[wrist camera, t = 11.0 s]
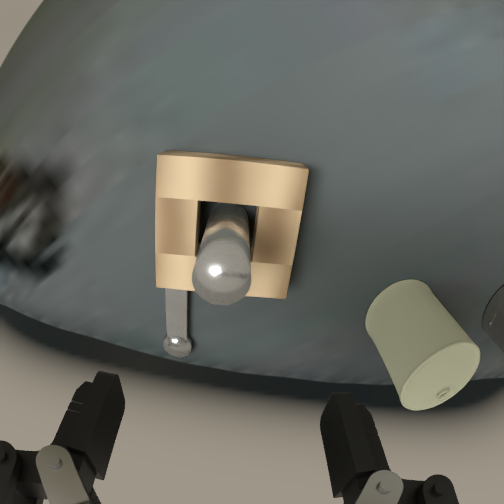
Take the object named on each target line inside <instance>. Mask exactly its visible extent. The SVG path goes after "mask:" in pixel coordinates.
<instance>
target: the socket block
mask: <svg viewBox="0 0 504 504" xmlns="http://www.w3.org/2000/svg"><path fill="white" fill-rule="evenodd" d="M308 173H309V169H308V168H307V167H306V166H305V165H303V164H302V163H295V162H287V161H280V160H272V159H263V158H255V157H245V156H235V155H225V154H213V153H200V152H185V151H167V150H166V151H164V152H162V153H160V154H158V155H157V175H156V212H155V252H156V287H161V288H170V289H179V290H189V291H195V289H194V287H193V284H192V272H193V269H194V265H195V262H196V259H197V255H198V252H199V249H200V245H201V243H199V233H200V216H201V201H211V202H222V203H232V204H243V205H253V206H257V208H256V216H255V224H254V232H253V240H252V248H250V263H251V286H250V289H249V291H248V293H247V294H246V295H245V296H253V297H266V298H279V299H286V295H287V290H288V285H289V280H290V274H291V269H292V264H293V259H294V253H295V248H296V243H297V237H298V231H299V226H300V220H301V214H302V209H303V203H304V197H305V191H306V185H307V179H308Z"/></svg>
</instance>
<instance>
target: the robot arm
mask: <svg viewBox="0 0 504 504" xmlns="http://www.w3.org/2000/svg"><path fill="white" fill-rule="evenodd" d="M483 327H484V329H485V331H486V332H487V333H488V334H489V335H490V337H491V338H492V339H493V340H494V341H495V343H496V344H497V345H498V346H499V348H500V349H501V350H502V351H503V353H504V286H503V287H502V288H500V289H499V290H498V291H497V293H496V294H495V295H494V296H493V298H492V299H491V301H490V302H489V304H488V306H487V308H486V311H485V313H484V317H483ZM124 409H125V398H124V394H123V391H122V387H121V383H120V379H119V376H118V375H117V374H113V373H107V372H103V371H99V372H98V373H97V374H96V376H95V379H94V381H93V383H91V382H84V383H83V384H82V385H81V386H80V387H79V388H78V389H77V390H76V392H75V394H74V396H73V398H72V402H70V404H69V406H68V410H67V411H66V413H65V415H64V418H63V420H62V422H61V424H60V427H59V429H58V431H57V433H56V436H55V438H54V440H53V442H52V443H51V444H50V445H48V446H45V447H43V448H42V449H41V450H40V451H23V450H15V449H14V447H13V446H12V445H11V444H10V443H8V442H6V441H0V504H43V500H44V499H48V500H49V503H50V504H101V502H100V500H99V498H98V496H97V494H96V492H95V490H94V488H93V484H94V480H95V478H97V479H100V480H104V478H105V475H106V471H107V467H108V464H109V460H110V457H111V453H112V450H113V447H114V443H115V440H116V436H117V433H118V430H119V427H120V423H121V420H122V417H123V414H124ZM320 430H321V435H322V440H323V445H324V450H325V455H326V460H327V465H328V471H329V476H330V481H331V486H332V492H333V497H334V498H338V497H343V500H344V504H459V503H458V499H457V496H456V493H455V490H454V487H453V484H452V482H451V481H450V479H448V478H447V477H445V476H443V475H433V476H430V477H429V478H428V479H427V480H425V481H415V480H405V479H401V478H400V477H399V476H398V475H397V474H396V473H394V472H392V471H391V470H390V468H389V466H388V463H387V460H386V457H385V454H384V451H383V447H382V445H381V441H380V439H379V436H378V432H377V429H376V427H375V423H374V421H373V418H372V415H371V413H370V412H369V411H368V410H367V409H366V407H365V406H364V405H356V402H355V399H354V396H353V394H352V393H351V392H344V393H332V394H331V395H330V397H329V400H328V402H327V404H326V407H325V409H324V411H323V413H322V416H321V420H320Z"/></svg>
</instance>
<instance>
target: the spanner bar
mask: <svg viewBox="0 0 504 504" xmlns="http://www.w3.org/2000/svg"><path fill="white" fill-rule="evenodd" d="M165 293H166V322H167V335H166V337H165V340H164V344H163V346H164V349H165V350H166V352H167V353H169V354H170V355H172V356H175V357H184V356H187V355H188V354H189V353H190V351H191V347H192V339H191V338H190V336H189V335H188V290H179V289H170V288H165Z"/></svg>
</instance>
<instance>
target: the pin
mask: <svg viewBox="0 0 504 504" xmlns="http://www.w3.org/2000/svg"><path fill="white" fill-rule="evenodd" d="M192 284H193V287H194V289H195V291H196V292H197V294H198V295H199V296H200V297H201V298H202V299H204V300H205V301H207V302H210V303H212V304H216V305H229V304H233V303H235V302H238V301H239V300H241V299H242V298H243V297H244V296H245V295H246V294H247V293H248V291H249V289H250V286H251V263H250V243H249V223H248V215H247V212H246V211H245V209H244V208H243V207H242V206H241V205H239V204H232V203H220V204H218V205H216V206H215V207H214V208H213V209H212V211H211V213H210V216H209V219H208V222H207V226H206V229H205V232H204V235H203V239H202V242H201V245H200V249H199V252H198V255H197V259H196V262H195V265H194V269H193V272H192Z"/></svg>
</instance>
